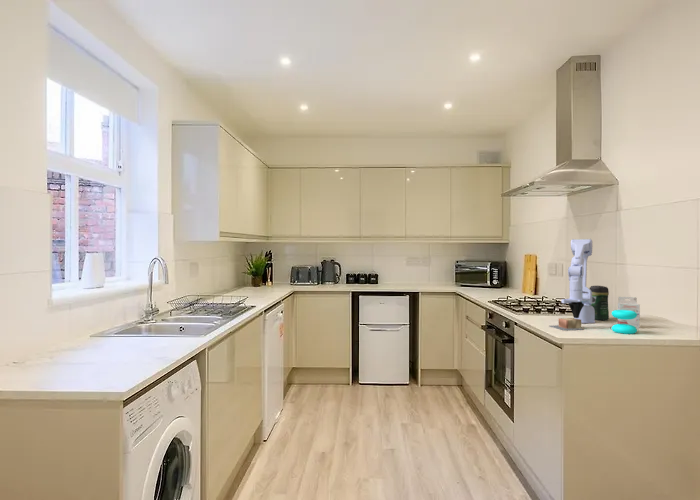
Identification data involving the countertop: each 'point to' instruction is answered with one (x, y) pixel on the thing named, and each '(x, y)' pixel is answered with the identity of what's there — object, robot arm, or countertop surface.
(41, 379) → the countertop surface
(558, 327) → the rubber mat
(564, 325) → the oak block
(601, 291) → the coffee jar
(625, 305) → the ink cartridge box
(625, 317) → the donuts
